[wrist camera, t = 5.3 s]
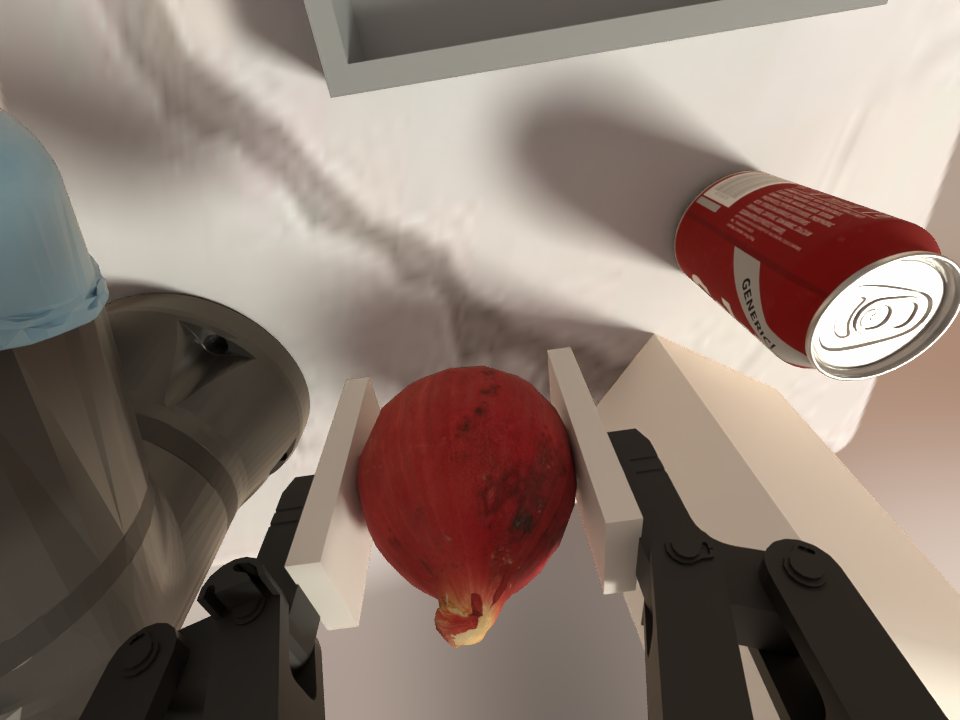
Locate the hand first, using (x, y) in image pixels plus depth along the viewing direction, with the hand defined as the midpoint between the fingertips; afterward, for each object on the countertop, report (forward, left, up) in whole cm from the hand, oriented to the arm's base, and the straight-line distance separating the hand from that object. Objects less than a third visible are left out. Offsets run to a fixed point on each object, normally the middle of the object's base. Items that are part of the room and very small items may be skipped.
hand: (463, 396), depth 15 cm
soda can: (+16, -1, -14) cm, 22 cm away
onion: (0, 0, 0) cm, 0 cm away
